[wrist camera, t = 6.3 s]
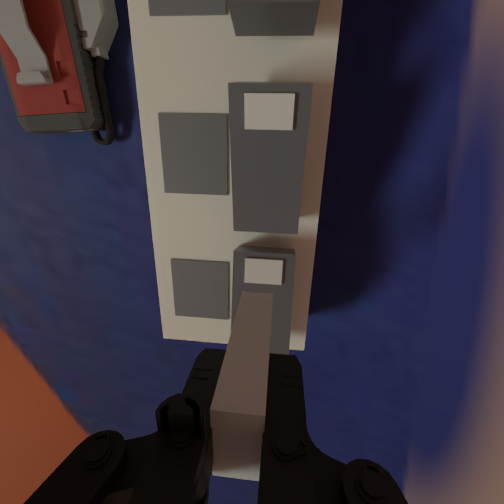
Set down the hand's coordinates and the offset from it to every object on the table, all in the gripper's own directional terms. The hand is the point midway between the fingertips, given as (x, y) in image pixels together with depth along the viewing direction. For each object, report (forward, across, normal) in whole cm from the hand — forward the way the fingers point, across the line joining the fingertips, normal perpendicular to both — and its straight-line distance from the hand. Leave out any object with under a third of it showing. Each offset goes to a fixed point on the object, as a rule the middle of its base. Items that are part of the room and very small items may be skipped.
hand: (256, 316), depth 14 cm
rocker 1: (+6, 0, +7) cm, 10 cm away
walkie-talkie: (+13, -16, +18) cm, 27 cm away
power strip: (+12, -2, +9) cm, 15 cm away
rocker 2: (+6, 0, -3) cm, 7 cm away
